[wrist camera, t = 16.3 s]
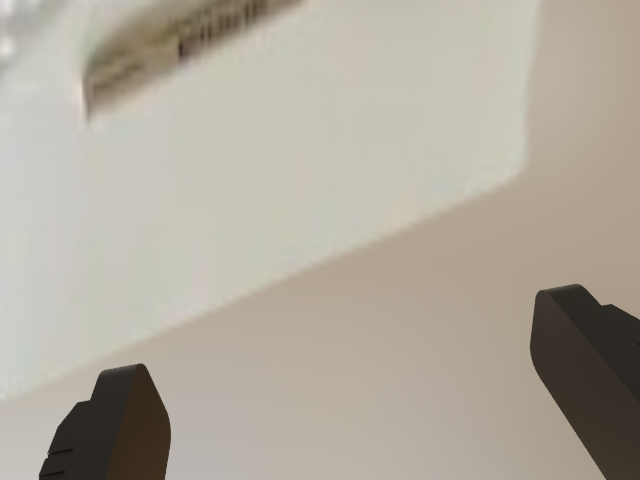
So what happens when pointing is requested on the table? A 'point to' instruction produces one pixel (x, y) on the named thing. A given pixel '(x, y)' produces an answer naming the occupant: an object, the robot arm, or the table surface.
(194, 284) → the table surface
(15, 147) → the table surface
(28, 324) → the table surface
